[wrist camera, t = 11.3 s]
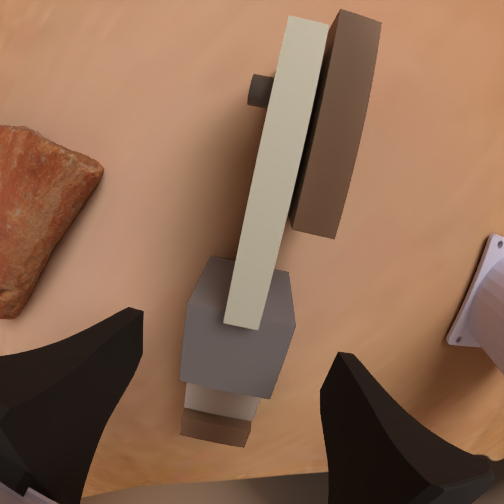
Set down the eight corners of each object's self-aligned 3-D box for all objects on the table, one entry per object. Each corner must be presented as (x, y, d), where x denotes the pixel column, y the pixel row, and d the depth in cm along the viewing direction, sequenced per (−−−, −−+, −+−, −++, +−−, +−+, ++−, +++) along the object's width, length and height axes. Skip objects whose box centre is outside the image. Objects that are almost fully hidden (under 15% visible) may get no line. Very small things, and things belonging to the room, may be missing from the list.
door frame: (341, 63, 13) (381, 22, 7) (252, 404, 20) (246, 473, 14) (256, 44, 13) (249, -10, 7) (192, 392, 20) (173, 459, 14)
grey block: (288, 272, 16) (296, 325, 11) (270, 335, 17) (270, 399, 12) (211, 255, 16) (187, 303, 11) (200, 321, 17) (178, 380, 12)
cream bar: (306, 70, 13) (329, 25, 7) (262, 263, 16) (258, 330, 10) (264, 61, 13) (261, 10, 7) (224, 254, 16) (199, 317, 10)
